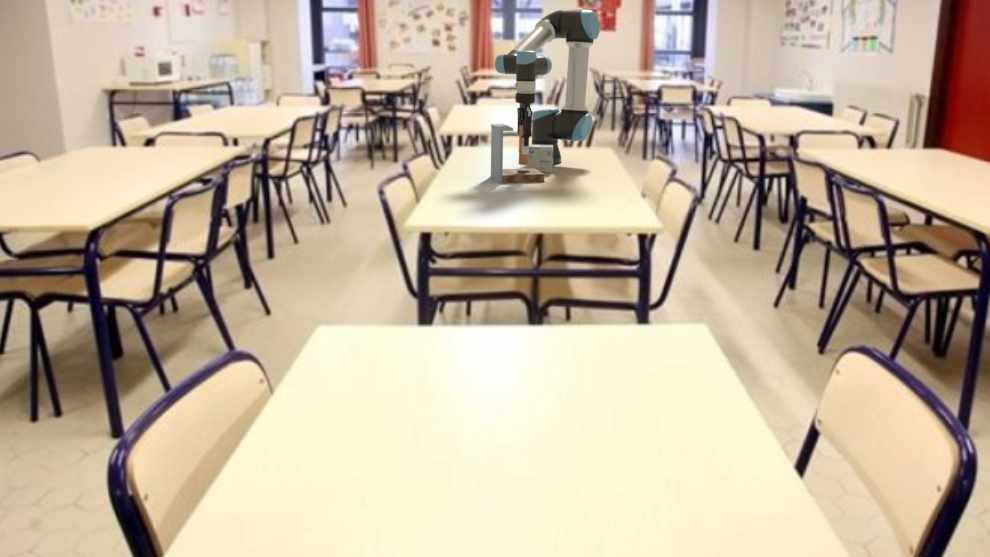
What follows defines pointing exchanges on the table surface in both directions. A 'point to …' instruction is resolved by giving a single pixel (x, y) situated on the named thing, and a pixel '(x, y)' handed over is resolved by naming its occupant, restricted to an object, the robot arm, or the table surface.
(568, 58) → the robot arm
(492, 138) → the grey l-shaped bracket
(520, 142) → the peg
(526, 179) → the socket board
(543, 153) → the light bulb box
